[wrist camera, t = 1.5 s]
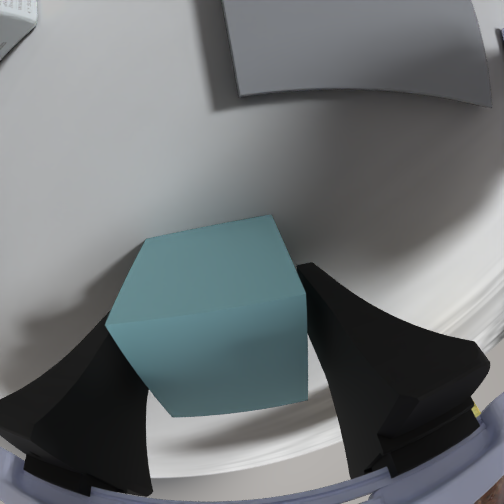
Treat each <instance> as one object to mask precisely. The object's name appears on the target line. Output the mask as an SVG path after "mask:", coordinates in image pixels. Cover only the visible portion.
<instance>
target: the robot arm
mask: <svg viewBox="0 0 504 504" xmlns="http://www.w3.org/2000/svg"><path fill="white" fill-rule="evenodd" d="M502 35H503V39H504V28H503V29H502ZM296 266H297V274H298V276H299V278H300V281H301V283H302V285H303V288H304V290H305V293H306V306H307V333H308V335H309V338H310V340H311V342H312V345H313V347H314V350H315V352H316V354H317V357H318V359H319V361H320V364H321V366H322V368H323V371H324V373H325V376H326V379H327V381H328V384H329V388H330V391H331V395H332V398H333V402H334V406H335V409H336V413H337V417H338V421H339V425H340V429H341V434H342V438H343V442H344V446H345V452H346V457H347V462H348V468H349V474H350V477H351V480H348V481H344V482H341V483H338V484H334V485H331V486H327V487H323V488H319V489H315V490H310V491H306V492H301V493H296V494H290V495H284V496H278V497H271V498H263V499H254V500H242V501H223V502H193V501H174V500H163V499H153V498H146V497H147V496H149V495H150V494H152V492H153V489H152V484H151V479H150V473H149V466H148V457H147V446H146V404H147V396H148V390H149V388H148V387H147V386H146V385H145V383H144V382H143V381H142V379H141V378H140V377H139V375H138V374H137V373H136V371H135V370H134V368H133V367H132V366H131V364H130V363H129V361H128V360H127V359H126V357H125V356H124V354H123V353H122V351H121V350H120V348H119V347H118V345H117V344H116V342H115V341H114V339H113V337H112V336H111V334H110V333H109V331H108V329H107V328H106V326H105V323H106V321H107V319H108V316H109V314H110V312H111V310H110V311H109V312H108V313H107V315H106V316H105V317H104V318H103V319H102V320H101V321H100V322H99V323H98V324H97V325H96V326H95V328H94V329H93V330H92V331H91V332H90V333H89V334H88V335H87V336H86V337H85V338H84V339H83V340H82V341H81V342H80V343H79V344H78V345H77V346H76V347H75V348H74V349H73V350H72V351H71V352H70V353H69V354H68V355H67V356H65V357H64V358H63V359H62V360H61V361H60V362H59V363H57V364H56V365H55V366H53V367H52V368H51V369H50V370H48V371H47V372H46V373H44V374H43V375H42V376H40V377H39V378H37V379H36V380H34V381H33V382H31V383H30V384H28V385H27V386H25V387H23V388H22V389H20V390H18V391H16V392H14V393H12V394H10V395H8V396H6V397H4V398H2V399H0V435H1V436H2V437H3V438H4V439H6V440H7V441H8V442H9V443H11V444H12V445H14V446H15V447H16V448H18V449H19V450H21V451H22V452H23V453H25V454H27V455H26V459H25V461H24V460H22V459H21V458H19V457H18V456H16V455H15V454H13V453H11V452H9V451H7V450H6V449H4V448H2V447H0V500H1V501H2V502H4V503H5V504H341V503H344V502H347V501H350V500H354V499H357V498H360V497H362V496H366V495H368V494H371V493H372V494H371V495H370V497H369V499H368V501H365V502H362V503H359V504H474V503H475V502H476V501H477V500H478V499H479V498H480V497H482V496H483V495H484V494H485V493H486V492H487V491H488V490H489V489H490V488H491V487H492V486H493V485H494V484H495V483H496V482H497V481H498V480H499V479H500V478H501V477H502V476H503V475H504V392H503V393H502V394H500V395H499V396H498V397H497V398H495V399H494V400H493V401H492V402H491V403H490V404H489V405H488V406H487V407H486V408H485V409H484V410H483V411H482V412H481V414H480V415H479V416H477V417H475V415H474V413H473V411H472V410H471V409H472V408H473V407H474V402H473V400H472V398H471V395H472V394H473V393H474V392H475V390H476V389H477V388H478V387H479V385H480V384H481V383H482V381H483V380H484V378H485V377H486V375H487V374H488V372H489V369H490V362H489V360H488V359H487V357H486V356H485V355H484V353H483V352H482V351H481V349H480V348H479V347H478V345H477V344H476V343H475V342H474V341H469V340H465V339H460V338H455V337H451V336H446V335H443V334H439V333H436V332H433V331H430V330H427V329H424V328H421V327H418V326H415V325H413V324H411V323H408V322H406V321H403V320H401V319H399V318H396V317H394V316H392V315H390V314H388V313H386V312H384V311H382V310H380V309H379V308H377V307H375V306H373V305H371V304H370V303H368V302H366V301H365V300H363V299H362V298H360V297H358V296H357V295H355V294H354V293H352V292H351V291H349V290H348V289H347V288H345V287H344V286H342V285H341V284H340V283H338V282H337V281H336V280H334V279H333V278H332V277H330V276H329V275H328V274H327V273H325V272H324V271H323V270H322V269H320V268H319V267H318V266H316V265H315V264H314V263H306V264H301V265H296ZM117 492H120V493H117ZM122 493H125V494H122ZM127 494H132V495H127ZM133 495H138V496H133ZM139 496H145V497H139Z"/></svg>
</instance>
